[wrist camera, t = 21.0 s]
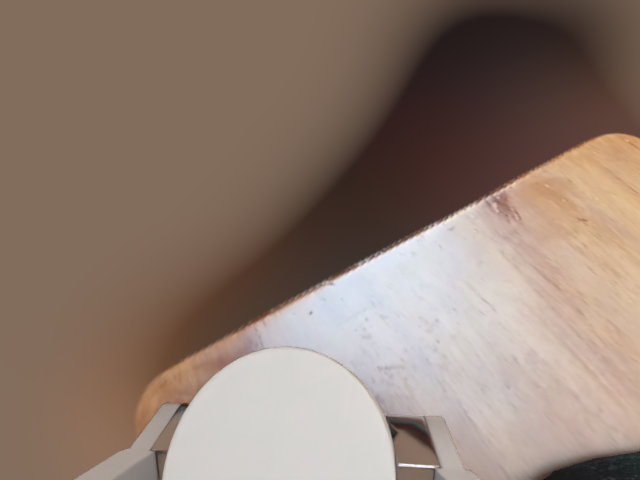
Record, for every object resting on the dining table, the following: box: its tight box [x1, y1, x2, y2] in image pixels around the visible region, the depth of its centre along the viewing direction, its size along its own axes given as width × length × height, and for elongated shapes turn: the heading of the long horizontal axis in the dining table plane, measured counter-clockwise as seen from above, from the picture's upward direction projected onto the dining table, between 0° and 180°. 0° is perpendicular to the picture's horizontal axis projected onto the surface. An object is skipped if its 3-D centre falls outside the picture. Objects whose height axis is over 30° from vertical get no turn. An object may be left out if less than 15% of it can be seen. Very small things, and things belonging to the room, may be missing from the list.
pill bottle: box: [162, 347, 396, 480], centre depth 9 cm, size 5×5×8 cm
